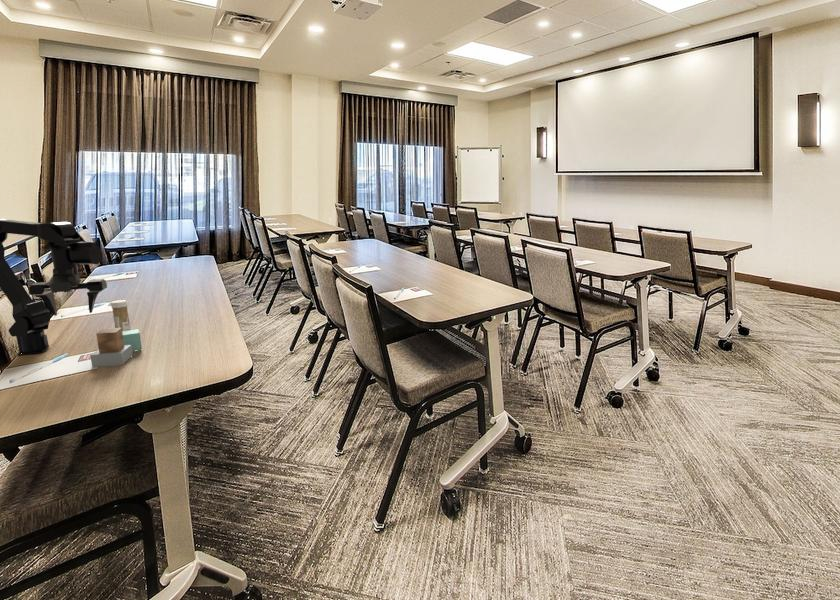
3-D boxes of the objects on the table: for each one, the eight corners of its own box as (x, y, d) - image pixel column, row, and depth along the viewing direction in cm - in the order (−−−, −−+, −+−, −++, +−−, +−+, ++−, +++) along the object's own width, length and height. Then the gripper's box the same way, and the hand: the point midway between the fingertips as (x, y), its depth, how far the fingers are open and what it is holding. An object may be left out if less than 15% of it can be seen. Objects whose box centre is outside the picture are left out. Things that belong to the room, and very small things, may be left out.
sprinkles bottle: (132, 339, 161) (127, 301, 158) (116, 341, 159) (110, 303, 156) (131, 336, 165) (126, 298, 162) (116, 338, 163) (110, 300, 160)
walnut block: (99, 353, 137) (96, 333, 135) (105, 348, 141) (102, 328, 140) (118, 351, 138) (115, 332, 137) (124, 346, 143) (121, 327, 141)
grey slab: (92, 368, 136) (90, 355, 135) (104, 359, 144) (102, 346, 143) (123, 366, 138) (121, 353, 137) (133, 357, 145) (131, 344, 144)
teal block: (123, 353, 147) (121, 335, 146) (122, 349, 151) (120, 331, 150) (142, 350, 150) (139, 332, 149) (140, 346, 154) (138, 329, 153)
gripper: (15, 269, 132) (25, 323, 135) (93, 266, 138) (101, 317, 141) (31, 264, 142) (41, 314, 145) (103, 261, 148) (111, 309, 152)
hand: (73, 313), depth 146 cm, fingers open, 9 cm apart
